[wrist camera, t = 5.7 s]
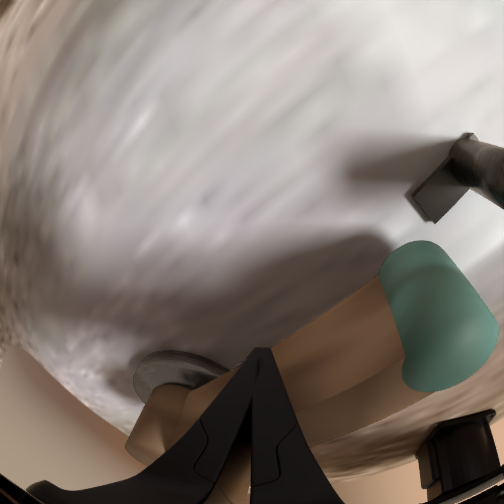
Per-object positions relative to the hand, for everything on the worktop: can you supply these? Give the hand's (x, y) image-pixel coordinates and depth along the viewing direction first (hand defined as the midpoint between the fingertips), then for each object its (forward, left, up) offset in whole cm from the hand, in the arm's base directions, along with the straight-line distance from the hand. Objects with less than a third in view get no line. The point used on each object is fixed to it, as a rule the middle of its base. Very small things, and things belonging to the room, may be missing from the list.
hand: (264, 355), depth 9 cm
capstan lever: (+1, +4, -3) cm, 5 cm away
